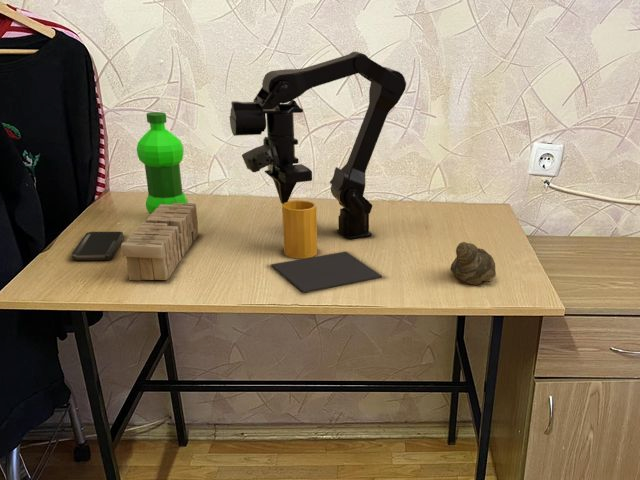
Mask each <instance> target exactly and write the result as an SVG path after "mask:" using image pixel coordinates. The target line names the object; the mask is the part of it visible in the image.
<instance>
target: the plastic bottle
mask: <svg viewBox="0 0 640 480" xmlns="http://www.w3.org/2000/svg"><path fill="white" fill-rule="evenodd" d="M167 120H168V119H167V114H166V112H162V111H161V112H160V111H150V112H147V113H146V121H147V123H148V124H149V127H150V129H149V130H148V131H147V132H146V133H144V134H143V136H142V137H141V138H140V139H139V140H138V142H137V145H136V155H137V157H138V159H139V161H140V163H142V164H143V165H144V171H145V177H146V184H147V193H148V194H147V197H146V201H145V209H146V210H147V212H148V214H150V215H151V214H152V213H153V212H154V211H155V209H156V208H158V207H159V205H160V204H165V205H172V204H173V203H184V204H185V203H189V201H188V198H187V196H186V194H185V192H184V191H183V184H182V183H183V182H182V176H181V175H182V174H181V165H180V164H181V162H182V161H183V159H184V153H185V152H184V144H183V142H182V141H181V139H180V138H178V137H177V136H176V135H175V134H173V133H172V132H171V131H169V130H168V129H167V128H166V123H167V122H168V121H167Z"/></svg>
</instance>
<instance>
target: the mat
mask: <svg viewBox="0 0 640 480" xmlns="http://www.w3.org/2000/svg"><path fill="white" fill-rule="evenodd" d="M271 267H272V268H273V269H274V270H275V271H276V272H277V273H279V274H280V275H281V276H282V277H283V278H285V279H286V280H287V281H289V282H290V283H291V284H292V285H293V286H294V287H296V288H297V289H298V290H299V291H300V292H301V293H303V294H307V293H311V292H315V291H316V292H317V291H321V290H322V291H323V290H327V289H331V288H332V289H333V288H337V287H342V286H346V285H352V284H356V283H361V282H367V281H371V280H376V279H382V278H383V275H381V274H380V273H378V272H377V271H376V270H374V269H372V268H371V267H369V266H368V265H366V264H365V263H363V262H362V261H360V260H359V259H357V258H356V257H355V256H353V255H352V254H350V253H349V252H347V251H342V252H336V253H330V254H324V255H318V256H313V257H310V258H299V259H295V260H289V261H283V262H277V263H272V264H271Z"/></svg>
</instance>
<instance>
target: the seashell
mask: <svg viewBox="0 0 640 480" xmlns="http://www.w3.org/2000/svg"><path fill="white" fill-rule="evenodd" d="M455 255H456V256H455V259H454V260H453V261H452V263H451V265H450V271H451V273H453V275H454V276H455V277H456V278H457V279H459V280H462V281H464V283H465V284H470V285H475V286H477V285H480V284H482V283H483V282H486V283H488V282H490V281H491V280H492V279H494V278H495V277H496V275H497V271H496V262H495V260H494V258H493V256H492V255H491V254H489V252H487V251H486V250H485V249H483V248H478V247H477V245H475V244H474V243H471V242H467V241H462V242H460V243H459V244H458V245H457V246H456V248H455Z"/></svg>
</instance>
